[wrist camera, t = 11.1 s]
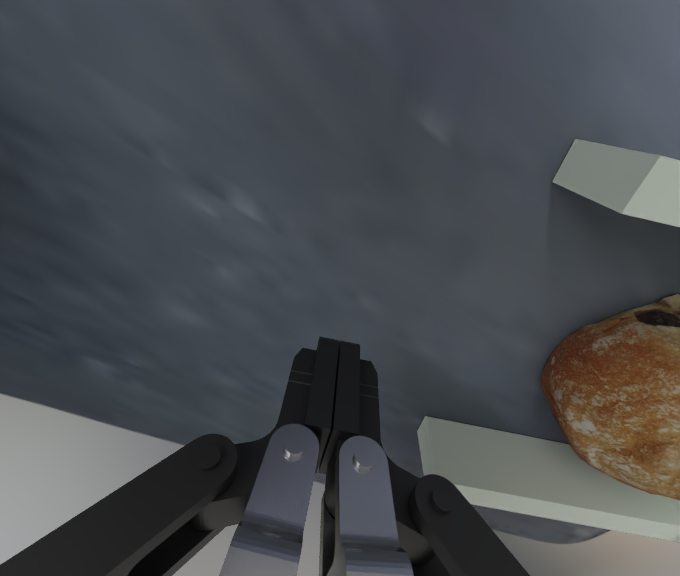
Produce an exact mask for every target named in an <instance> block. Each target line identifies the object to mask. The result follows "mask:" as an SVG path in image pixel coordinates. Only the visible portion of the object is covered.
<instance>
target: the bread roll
mask: <svg viewBox="0 0 680 576" xmlns="http://www.w3.org/2000/svg"><path fill="white" fill-rule="evenodd" d="M541 382H542V386H543V391H544V393H545V395H546V397H547V399H548V401H549V403H550V406H551V409H552V412H553V414H554V417H555V419H556V420H557V422H558V424H559V426H560V428H561V430H562V432H563V434H564V436H565V438H566V439H567V440H568V442H569V444H570V446H571V447H572V449H573V450H574V451H575V453H576V454H577V455H578V456H579V457H580V459H582V460H583V461H585V462H586V463H587V464H588V465H590V466H591V467H593V468H595V469H597V470H599V471H601V472H603V473H604V474H606V475H608V476H610V477H612V478H614V479H615V480H617V481H619V482H622V483H624V484H626V485H629V486H631V487H634V488H636V489H639V490H642V491H645V492H647V493H649V494H655V495H661V496H665V497H669V498H673V499H676V500H680V294H676V295H673V296H669V297H666V298H663V299H662V300H661V301H658V302H655V303H651V304H648V305H645V306H642V307H638V308H634V309H629V310H625V311H623V312H620V313H618V314H616V315H613V316H611V317H609V318H607V319H604V320H602V321H600V322H597V323H593V324H588V325H585V326H584V327H582V328H580V329H579V330H577V331H576V332H574V333H572V334H570V335H569V336H567V337H566V338H565V339H564V340H563V341H562V342H561V343H560V344H559V345H558V346H557V347H556V348H555V349H554V351H553V352H552V354H551V355H550V357H549V359H548V361H547V363H546V365H545V367H544V368H543V371H542V377H541Z"/></svg>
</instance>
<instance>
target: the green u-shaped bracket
mask: <svg viewBox="0 0 680 576" xmlns="http://www.w3.org/2000/svg"><path fill="white" fill-rule="evenodd" d="M552 182H553V183H555V184H558V185H560V186H562V187H564V188H566V189H568V190H571V191H573V192H575V193H577V194H579V195H582V196H584V197H586V198H588V199H590V200H592V201H595V202H597V203H599V204H601V205H603V206H605V207H608V208H610V209H612V210H614V211H616V212H619V213H621V214H625V215H629V216H633V217H638V218H642V219H646V220H650V221H655V222H659V223H663V224H668V225H672V226H676V227H680V160H676V159H672V158H668V157H664V156H660V155H655V154H650V153H645V152H640V151H635V150H630V149H625V148H620V147H615V146H610V145H605V144H600V143H595V142H590V141H585V140H580V139H575V140H574V142H573V144H572V146H571V148H570V150H569V151H568V153H567V155H566V157H565V159H564V161H563V162H562V164H561V166H560V168H559V170H558V172H557V174H556V175H555V177H554V179H553V181H552ZM417 434H418V440H419V447H420V453H421V460H422V466H423V473H424V476H425V475H428V474H435V475H439V476H442V477H444V478H446V479H448V480H449V481H450V482H451V483H453V484H454V485H455V486H456V487H457V489H458V490H459V491H460V492H461V493H462V495H463V496H464V497H465V498H466V499H467V501H468V502H469V503H470V504H473V505H478V506H484V507H489V508H495V509H500V510H506V511H511V512H516V513H522V514H527V515H533V516H538V517H544V518H549V519H554V520H560V521H565V522H571V523H576V524H582V525H587V526H592V527H598V528H603V529H609V530H615V531H620V532H625V533H630V534H636V535H642V536H647V537H652V538H657V539H663V540H669V541H674V542H679V543H680V500H676V499H673V498H669V497H665V496H661V495H655V494H649V493H647V492H645V491H642V490H639V489H636V488H634V487H631V486H629V485H626V484H624V483H622V482H619V481H617V480H615V479H614V478H612V477H610V476H608V475H606V474H604V473H603V472H601V471H599V470H597V469H595V468H593V467H591V466H590V465H588V464H587V463H586V462H585V461H583V460H582V459H580V457H579V456H578V455H577V454H576V453H575V451H574V450H573V449H572V447H571V446H570V444H565V443H560V442H555V441H550V440H545V439H540V438H535V437H529V436H524V435H519V434H514V433H509V432H504V431H499V430H494V429H489V428H484V427H478V426H473V425H468V424H463V423H458V422H453V421H448V420H443V419H438V418H433V417H428V416H425V418H424V419H423V421H422V423H421V425H420V427H419V429H418V430H417Z"/></svg>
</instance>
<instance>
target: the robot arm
mask: <svg viewBox="0 0 680 576" xmlns="http://www.w3.org/2000/svg"><path fill="white" fill-rule="evenodd" d="M319 464H320V465H319ZM318 467H319V473H322V474H326V484H325V491H324V494H323V497H322V501H321V526H320V529H321V530H320V556H319V558H320V559H319V576H530V575H529V574H528V573H527V572H526V570H525V569H524V568H523V567H522V566H521V564H520V563H519V562H518V561H517V560H516V558H515V557H514V556H513V555H512V554H511V553H510V551H509V550H508V549H507V548H506V547H505V545H504V544H503V543H502V542H501V540H500V539H499V538H498V537H497V536H496V534H495V533H494V532H493V531H492V529H491V528H490V527H489V526H488V525H487V523H486V522H485V521H484V520H483V519H482V517H481V516H480V515H479V514H478V513H477V511H476V510H475V509H474V508H473V507H472V505H471V504H470V503H469V502H468V501H467V499H466V498H465V497H464V496H463V495H462V493H461V492H460V491H459V490H458V489H457V487H456V486H455V485H454V484H453V483H451V482H450V481H449V480H448V479H446V478H444V477H442V476H439V475H435V474H428V475H425V476H423V477H422V478H421V479H420V478H418V477H416V476H414V475H412V474H411V473H409V472H407V471H405V470H403V469H401V468H400V467H398V466H397V465H395V464H394V463H393V462H392V461H391V460H390V459H389V457H388V456H387V455H386V453H385V451H384V449H383V447H382V444H381V439H380V419H379V399H378V378H377V372H376V370H375V368H374V366H373V364H372V362H371V361H366V360H361V359H360V345H359V344H354V343H350V342H345V341H340V342H339V340H334V339H329V338H324V337H319V341H318V346H317V350H311V349H306V348H302V349H301V350H300V352H299V353H298V354H297V355H296V356H295V357H294V361H293V365H292V368H291V372H290V376H289V381H288V384H287V388H286V392H285V396H284V400H283V404H282V408H281V412H280V416H279V420H278V422H277V424H276V426H275V428H274V429H273V430H272V431H271V432H270V433H269V434H268V435H267V436H265V437H263V438H262V439H259V440H256V441H252V442H246V443H239V444H234V443H233V442H232V441H231V440H230V439H229V438H227V437H225V436H223V435H219V434H208V435H204V436H201V437H198V438H197V439H195V440H193V441H192V442H190V443H189V444H187V445H185V446H184V447H182V448H181V449H179V450H178V451H176V452H175V453H173V454H172V455H170V456H168V457H167V458H166V459H164V460H162V461H161V462H159V463H158V464H156V465H154V466H153V467H151V468H150V469H148V470H147V471H145V472H144V473H142V474H141V475H139V476H137V477H136V478H134V479H133V480H131V481H130V482H128V483H127V484H125V485H123V486H122V487H120V488H119V489H117V490H116V491H114V492H113V493H111V494H109V495H108V496H106V497H105V498H103V499H102V500H100V501H99V502H97V503H96V504H94V505H93V506H91V507H89V508H88V509H86V510H85V511H83V512H82V513H80V514H78V515H77V516H75V517H74V518H72V519H71V520H69V521H68V522H66V523H65V524H63V525H61V526H60V527H58V528H57V529H55V530H54V531H52V532H51V533H49V534H48V535H46V536H45V537H43V538H41V539H40V540H38V541H37V542H35V543H34V544H33V545H31V546H29V547H27V548H26V549H24V550H23V551H21V552H20V553H18V554H17V555H15V556H13V557H12V558H10V559H9V560H7V561H6V562H4V563H3V564H1V565H0V576H172V575H173V574H174V573H175V572H176V571H178V570H179V569H180V568H181V567H182V566H183V565H184V564H185V563H186V562H187V561H189V560H190V559H191V558H192V557H193V556H194V555H195V554H196V553H197V552H198V551H200V550H201V549H202V548H203V547H204V546H205V545H206V544H207V543H208V542H209V541H210V540H212V539H213V538H214V537H215V536H216V535H217V534H218V533H219V532H221V531H222V530H223V529H224V528H225V527H227V526H231V525H235V524H239V525H238V527H237V529H236V531H235V533H234V536H233V538H232V541H231V544H230V547H229V550H228V553H227V555H226V558H225V561H224V564H223V566H222V569H221V572H220V575H219V576H296V575H297V570H298V565H299V559H300V555H301V549H302V540H303V531H304V526H305V521H306V516H307V511H308V505H309V500H310V495H311V490H312V485H313V480H314V476H315V473H317V470H318Z"/></svg>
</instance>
